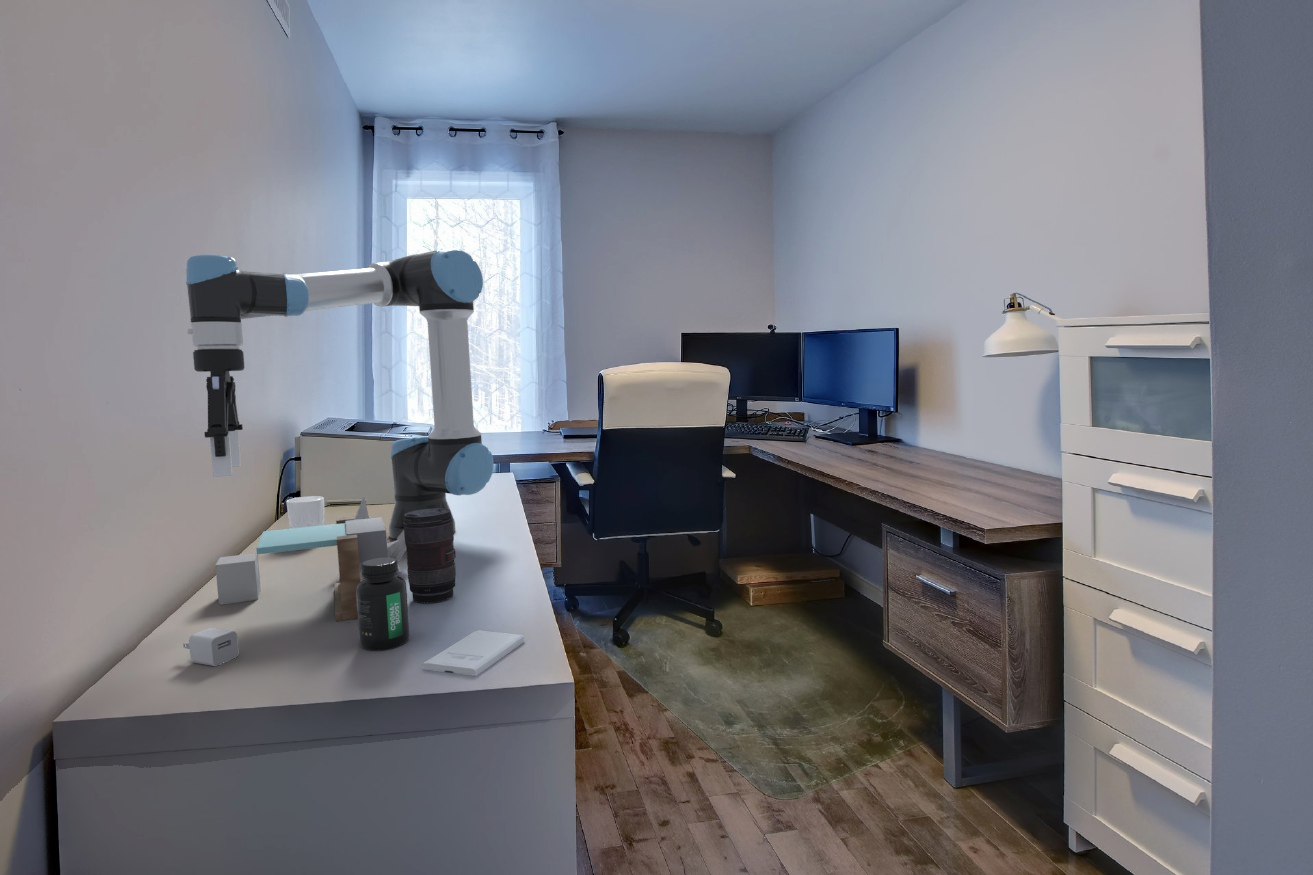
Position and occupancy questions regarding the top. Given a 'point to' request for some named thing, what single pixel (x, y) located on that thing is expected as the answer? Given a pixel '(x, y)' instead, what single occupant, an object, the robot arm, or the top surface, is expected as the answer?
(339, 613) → the stand
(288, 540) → the trapdoor
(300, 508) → the white cup
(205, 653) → the usb wall charger
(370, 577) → the supplement bottle
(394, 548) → the crystal
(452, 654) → the external hard drive
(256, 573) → the plain grey cube
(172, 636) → the top surface
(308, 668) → the top surface
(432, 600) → the camera lens
